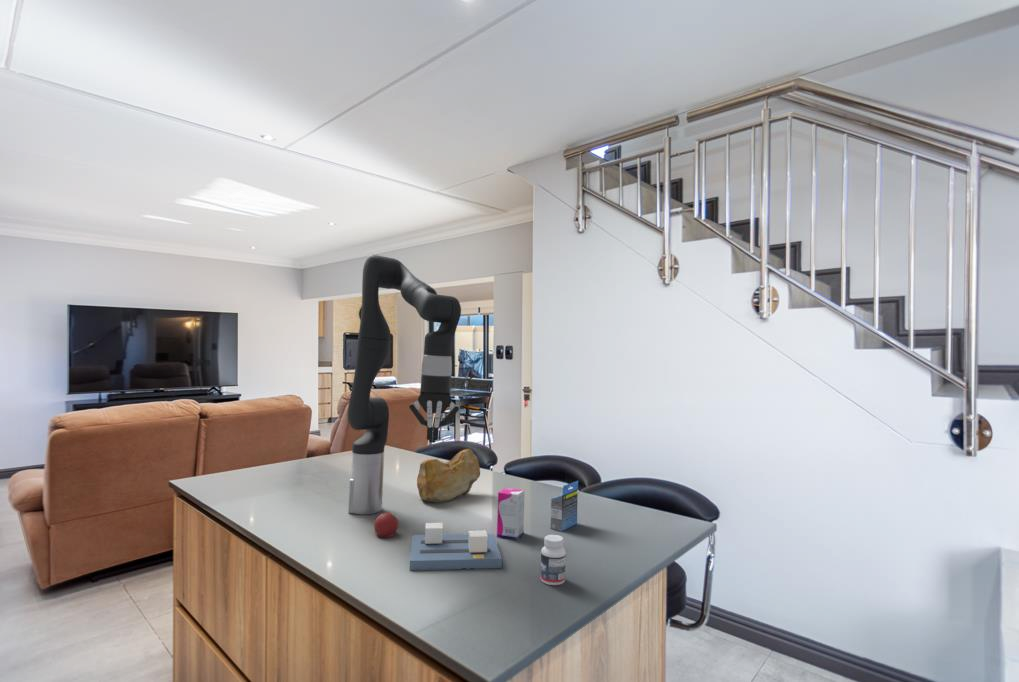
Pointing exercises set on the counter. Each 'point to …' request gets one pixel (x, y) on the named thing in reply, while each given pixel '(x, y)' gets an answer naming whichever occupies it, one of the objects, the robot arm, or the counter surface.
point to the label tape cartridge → (564, 508)
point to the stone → (447, 477)
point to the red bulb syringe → (386, 525)
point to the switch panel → (452, 554)
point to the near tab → (478, 541)
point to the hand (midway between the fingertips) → (432, 441)
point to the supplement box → (510, 513)
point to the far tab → (433, 533)
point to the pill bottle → (553, 560)
